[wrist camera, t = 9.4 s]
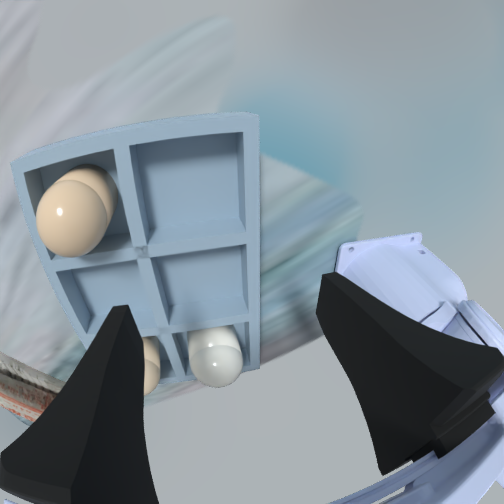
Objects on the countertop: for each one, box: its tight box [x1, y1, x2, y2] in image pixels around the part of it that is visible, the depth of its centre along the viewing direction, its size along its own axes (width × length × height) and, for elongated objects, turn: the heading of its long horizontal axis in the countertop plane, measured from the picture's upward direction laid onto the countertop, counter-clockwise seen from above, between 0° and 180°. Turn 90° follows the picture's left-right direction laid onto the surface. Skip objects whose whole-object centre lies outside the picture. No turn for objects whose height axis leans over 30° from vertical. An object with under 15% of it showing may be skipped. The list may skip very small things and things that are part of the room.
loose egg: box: [36, 164, 118, 258], centre depth 12 cm, size 4×4×5 cm
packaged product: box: [0, 352, 66, 422], centre depth 21 cm, size 18×5×10 cm
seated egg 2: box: [187, 324, 243, 388], centre depth 20 cm, size 4×4×5 cm
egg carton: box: [10, 112, 260, 384], centre depth 18 cm, size 14×20×3 cm
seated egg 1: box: [142, 335, 160, 396], centre depth 19 cm, size 4×4×5 cm
